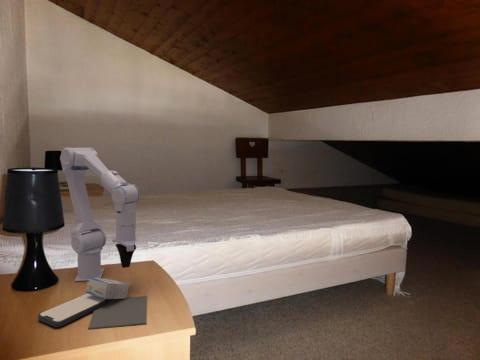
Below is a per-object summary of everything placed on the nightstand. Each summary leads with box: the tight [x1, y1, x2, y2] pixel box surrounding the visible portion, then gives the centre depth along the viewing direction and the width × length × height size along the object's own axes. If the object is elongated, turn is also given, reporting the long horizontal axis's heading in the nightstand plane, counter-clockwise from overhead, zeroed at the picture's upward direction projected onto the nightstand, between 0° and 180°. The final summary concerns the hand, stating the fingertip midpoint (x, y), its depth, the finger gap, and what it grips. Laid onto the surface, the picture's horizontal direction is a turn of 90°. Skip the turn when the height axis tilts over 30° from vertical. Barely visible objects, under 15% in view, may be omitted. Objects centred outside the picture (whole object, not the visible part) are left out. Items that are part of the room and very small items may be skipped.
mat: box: [87, 295, 148, 330], centre depth 98 cm, size 16×14×1 cm
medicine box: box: [85, 278, 130, 299], centre depth 104 cm, size 8×4×9 cm
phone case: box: [37, 293, 107, 328], centre depth 97 cm, size 9×2×16 cm
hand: (125, 266), depth 111 cm, fingers closed
